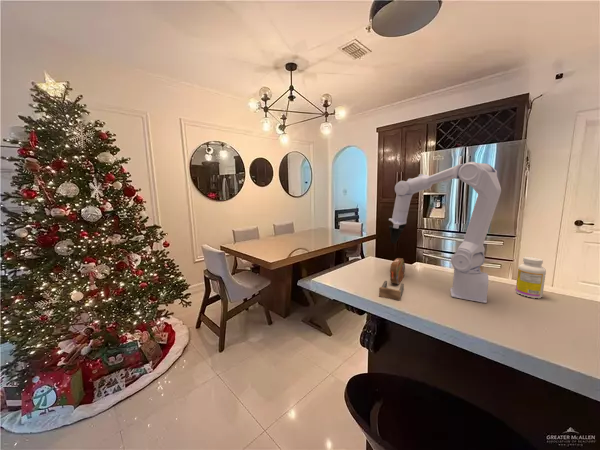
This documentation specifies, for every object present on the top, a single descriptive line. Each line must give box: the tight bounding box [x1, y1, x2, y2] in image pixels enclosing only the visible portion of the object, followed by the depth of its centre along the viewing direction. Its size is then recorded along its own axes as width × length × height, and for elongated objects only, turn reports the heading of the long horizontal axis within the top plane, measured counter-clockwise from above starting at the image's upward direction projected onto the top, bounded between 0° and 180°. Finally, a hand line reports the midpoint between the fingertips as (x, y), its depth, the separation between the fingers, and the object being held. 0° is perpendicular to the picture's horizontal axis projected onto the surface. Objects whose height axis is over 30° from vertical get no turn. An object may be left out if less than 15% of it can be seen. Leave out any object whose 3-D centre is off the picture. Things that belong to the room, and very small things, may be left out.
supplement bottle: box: [515, 256, 547, 299], centre depth 80 cm, size 7×7×13 cm
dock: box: [378, 280, 405, 301], centre depth 83 cm, size 7×10×3 cm, turn 150°
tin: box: [389, 257, 406, 285], centre depth 94 cm, size 15×3×8 cm, turn 145°
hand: (394, 240), depth 102 cm, fingers open, 7 cm apart
